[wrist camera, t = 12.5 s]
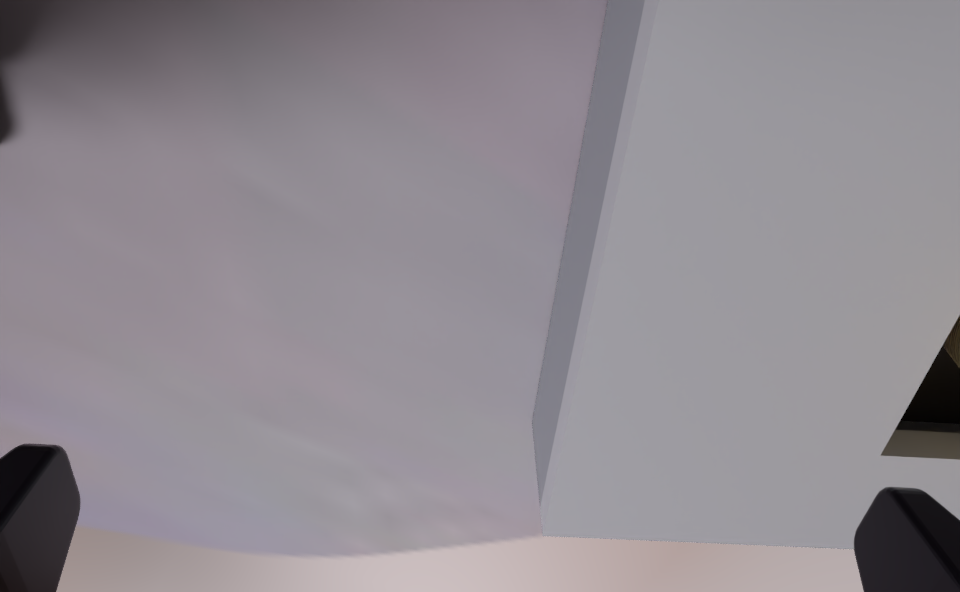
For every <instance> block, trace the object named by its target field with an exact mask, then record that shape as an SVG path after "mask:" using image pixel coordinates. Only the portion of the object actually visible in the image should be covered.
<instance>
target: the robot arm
mask: <svg viewBox="0 0 960 592" xmlns="http://www.w3.org/2000/svg"><path fill="white" fill-rule="evenodd" d="M79 511H80V494H79V491H78V487H77V484H76V481H75V478H74V475H73V472H72V469H71V465H70V462H69V459H68V456H67V454H66V451H65V450H64V449H63V448H62V447H61V446H57V445H46V444H22V445H20V446H18V447H15V448H14V449H12V450H11V451H9V452H8V453H7V454H5V455H4V456H3V457H1V458H0V592H56V590H57V587H58V583H59V580H60V577H61V574H62V570H63V567H64V564H65V560H66V557H67V553H68V550H69V547H70V543H71V540H72V537H73V534H74V530H75V527H76V524H77V520H78V516H79ZM854 551H855V556H856V560H857V564H858V569H859V573H860V577H861V581H862V585H863V590H864V592H960V520H959V519H958V518H957V517H955V516H954V515H953V514H952V513H951V512H949V511H948V510H947V509H946V508H945V507H943V506H942V505H941V504H940V503H939V502H937V501H936V500H935V499H934V498H933V497H931V496H930V495H929V494H927V493H926V492H924V491H923V490H920V489H917V488H904V487H885V488H884V489H882V490H880V491H879V492H878V494H877V495H876V497H875V498H874V500H873V502H872V504H871V505H870V507H869V509H868V510H867V512H866V514H865V515H864V517H863V519H862V521H861V522H860V524H859V526H858V527H857V529H856V532H855V536H854Z"/></svg>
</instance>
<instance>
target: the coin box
mask: <svg viewBox="0 0 960 592" xmlns="http://www.w3.org/2000/svg"><path fill="white" fill-rule="evenodd" d="M959 315H960V0H608V4H607V9H606V15H605V20H604V26H603V31H602V37H601V42H600V48H599V54H598V59H597V65H596V70H595V76H594V81H593V87H592V92H591V98H590V104H589V109H588V115H587V120H586V126H585V131H584V137H583V142H582V148H581V154H580V159H579V165H578V170H577V176H576V181H575V187H574V192H573V198H572V204H571V209H570V215H569V220H568V226H567V231H566V237H565V242H564V248H563V254H562V259H561V265H560V270H559V276H558V281H557V287H556V292H555V298H554V304H553V309H552V315H551V320H550V326H549V331H548V337H547V342H546V348H545V354H544V359H543V365H542V370H541V376H540V381H539V387H538V393H537V398H536V404H535V409H534V415H533V420H532V428H533V439H534V449H535V460H536V471H537V481H538V492H539V503H540V513H541V524H542V535H543V536H556V537H558V536H559V537H579V538H603V539H626V540H649V541H675V542H696V543H720V544H744V545H767V546H790V547H791V546H793V547H814V548H837V549H854V536H855V532H856V529H857V527H858V526H859V524H860V522H861V521H862V519H863V517H864V515H865V514H866V512H867V510H868V509H869V507H870V505H871V504H872V502H873V500H874V498H875V497H876V495H877V494H878V492H879V491H880V490H882V489H884V488H885V487H904V488H917V489H920V490H923V491H924V492H926V493H927V494H929V495H930V496H931V497H933V498H934V499H935V500H936V501H937V502H939V503H940V504H941V505H942V506H943V507H945V508H946V509H947V510H948V511H949V512H951V513H952V514H953V515H954V516H955V517H957V518H958V519H959V520H960V424H950V423H931V422H912V421H900V420H901V418H902V416H903V415H904V413H905V411H906V409H907V408H908V406H909V404H910V402H911V400H912V399H913V397H914V395H915V393H916V392H917V390H918V388H919V386H920V384H921V383H922V381H923V379H924V377H925V376H926V374H927V372H928V370H929V369H930V367H931V365H932V363H933V361H934V360H935V358H936V356H937V354H938V353H939V351H940V349H941V347H942V346H943V344H944V342H945V340H946V338H947V337H948V335H949V333H950V331H951V330H952V328H953V326H954V324H955V323H956V321H957V319H958V317H959Z"/></svg>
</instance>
